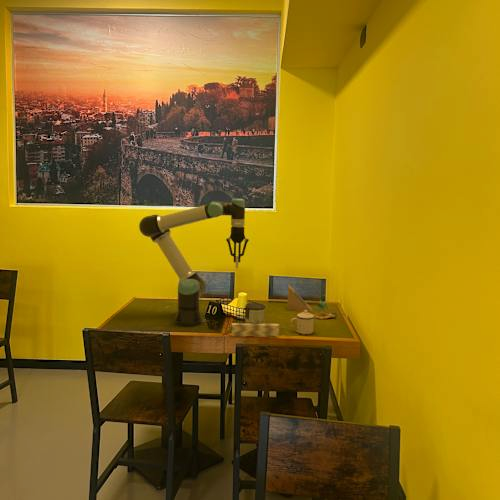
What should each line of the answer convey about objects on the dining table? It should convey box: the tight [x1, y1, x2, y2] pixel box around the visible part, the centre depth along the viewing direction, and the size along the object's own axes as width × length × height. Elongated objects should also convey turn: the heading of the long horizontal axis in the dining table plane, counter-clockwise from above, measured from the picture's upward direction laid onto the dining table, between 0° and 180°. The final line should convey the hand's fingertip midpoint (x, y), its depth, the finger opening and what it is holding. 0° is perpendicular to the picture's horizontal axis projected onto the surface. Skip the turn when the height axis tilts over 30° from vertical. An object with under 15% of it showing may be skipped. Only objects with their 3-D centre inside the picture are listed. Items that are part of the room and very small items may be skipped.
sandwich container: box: [287, 284, 313, 312], centre depth 292 cm, size 9×15×15 cm, turn 87°
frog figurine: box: [313, 294, 339, 320], centre depth 275 cm, size 10×18×15 cm, turn 77°
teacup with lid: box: [290, 310, 315, 335], centre depth 246 cm, size 12×9×12 cm
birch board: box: [231, 322, 280, 338], centre depth 239 cm, size 24×3×6 cm, turn 91°
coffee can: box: [244, 302, 266, 324], centre depth 244 cm, size 10×10×14 cm
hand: (236, 268), depth 265 cm, fingers closed
